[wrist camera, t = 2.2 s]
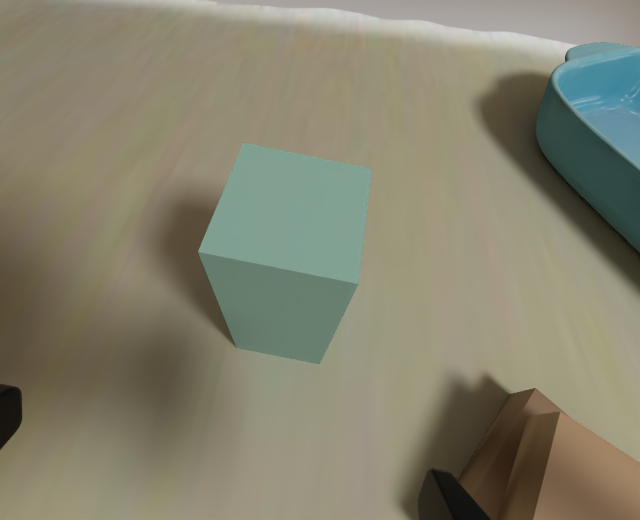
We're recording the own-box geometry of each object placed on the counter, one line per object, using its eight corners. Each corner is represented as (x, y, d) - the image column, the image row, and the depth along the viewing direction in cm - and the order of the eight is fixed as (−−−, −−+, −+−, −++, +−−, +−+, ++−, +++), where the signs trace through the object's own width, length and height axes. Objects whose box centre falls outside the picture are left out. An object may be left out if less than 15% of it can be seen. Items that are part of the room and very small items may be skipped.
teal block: (319, 364, 22) (358, 284, 11) (236, 347, 21) (197, 251, 11) (332, 288, 24) (371, 168, 14) (258, 273, 24) (243, 142, 14)
